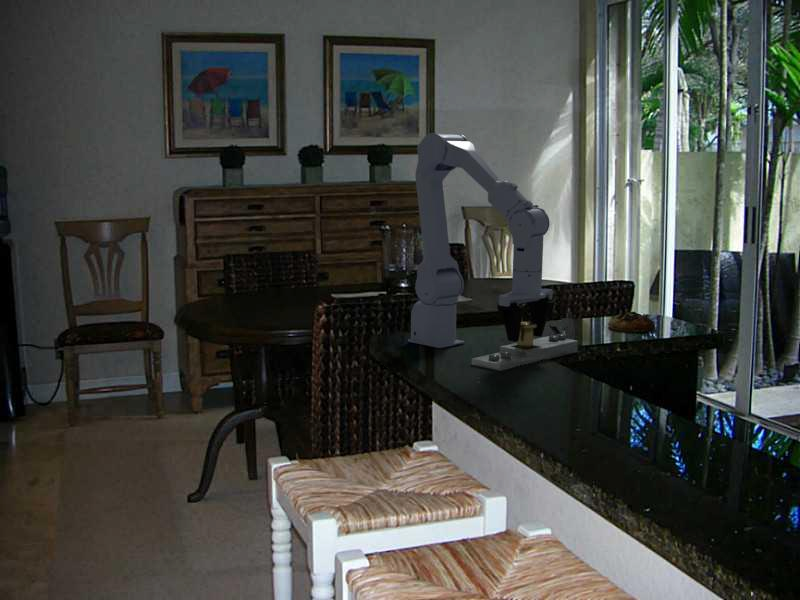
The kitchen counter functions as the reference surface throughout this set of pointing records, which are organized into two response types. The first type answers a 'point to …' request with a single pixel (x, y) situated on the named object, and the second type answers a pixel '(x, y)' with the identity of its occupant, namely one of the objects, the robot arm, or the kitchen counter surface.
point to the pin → (526, 335)
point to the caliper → (565, 325)
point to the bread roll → (631, 323)
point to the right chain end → (545, 347)
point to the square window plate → (505, 360)
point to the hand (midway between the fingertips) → (525, 338)
